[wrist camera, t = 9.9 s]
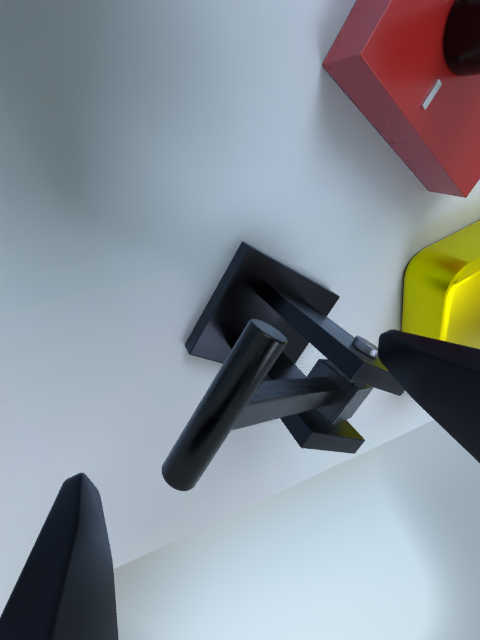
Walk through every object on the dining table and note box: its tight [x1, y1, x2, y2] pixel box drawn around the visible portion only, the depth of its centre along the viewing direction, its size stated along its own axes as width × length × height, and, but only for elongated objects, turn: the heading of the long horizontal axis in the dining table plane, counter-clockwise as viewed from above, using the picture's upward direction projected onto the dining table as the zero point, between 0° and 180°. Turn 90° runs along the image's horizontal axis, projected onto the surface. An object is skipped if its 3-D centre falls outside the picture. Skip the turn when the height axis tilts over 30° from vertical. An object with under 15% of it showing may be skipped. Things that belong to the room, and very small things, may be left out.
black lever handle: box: [162, 319, 374, 491], centre depth 14 cm, size 12×6×2 cm, turn 56°
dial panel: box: [322, 0, 480, 198], centre depth 19 cm, size 13×10×3 cm
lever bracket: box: [185, 242, 405, 453], centre depth 20 cm, size 9×8×10 cm
